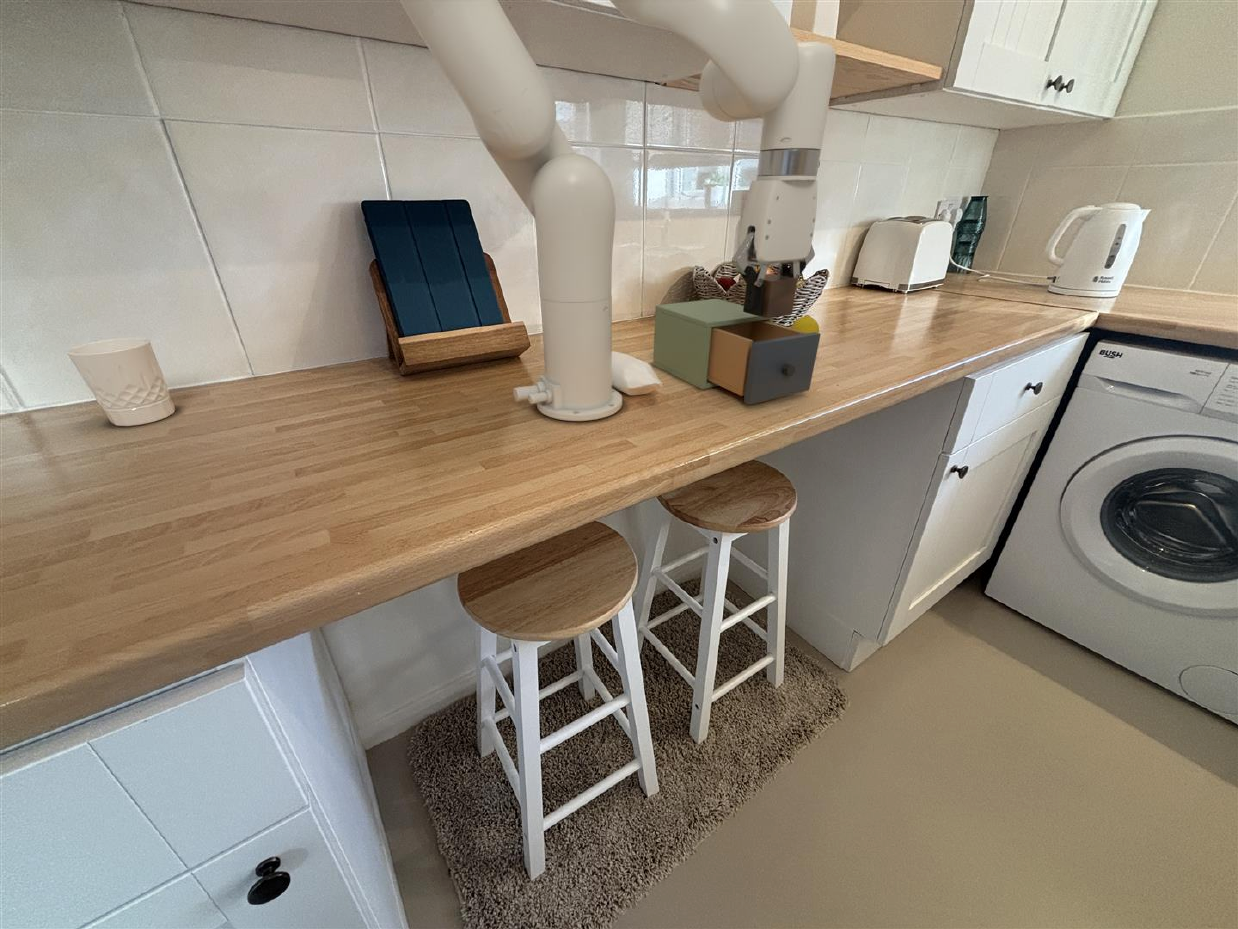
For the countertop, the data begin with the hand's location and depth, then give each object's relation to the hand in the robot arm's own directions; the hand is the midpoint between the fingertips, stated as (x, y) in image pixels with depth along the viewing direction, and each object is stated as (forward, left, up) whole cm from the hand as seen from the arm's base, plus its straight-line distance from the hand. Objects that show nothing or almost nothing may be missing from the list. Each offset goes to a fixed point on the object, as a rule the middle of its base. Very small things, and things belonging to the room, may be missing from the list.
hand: (767, 310), depth 73 cm
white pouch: (-18, +8, -13) cm, 24 cm away
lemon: (+21, +10, -13) cm, 26 cm away
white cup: (-82, +33, -13) cm, 90 cm away
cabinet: (0, +12, -13) cm, 17 cm away
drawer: (0, +1, -12) cm, 12 cm away
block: (0, 0, 0) cm, 0 cm away
